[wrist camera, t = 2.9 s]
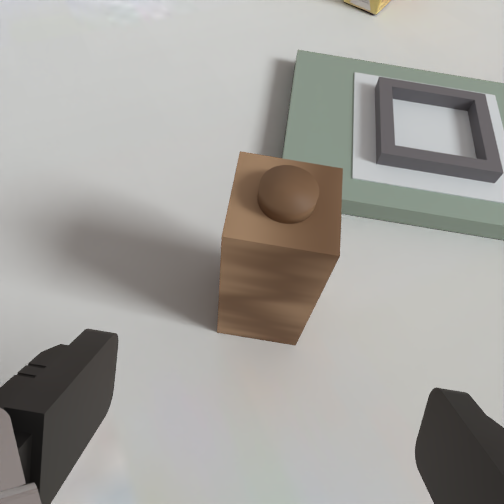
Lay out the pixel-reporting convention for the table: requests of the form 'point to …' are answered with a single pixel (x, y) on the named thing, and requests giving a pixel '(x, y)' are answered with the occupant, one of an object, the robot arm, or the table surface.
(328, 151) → the foundation board
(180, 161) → the table surface
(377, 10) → the candy box
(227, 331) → the walnut block
